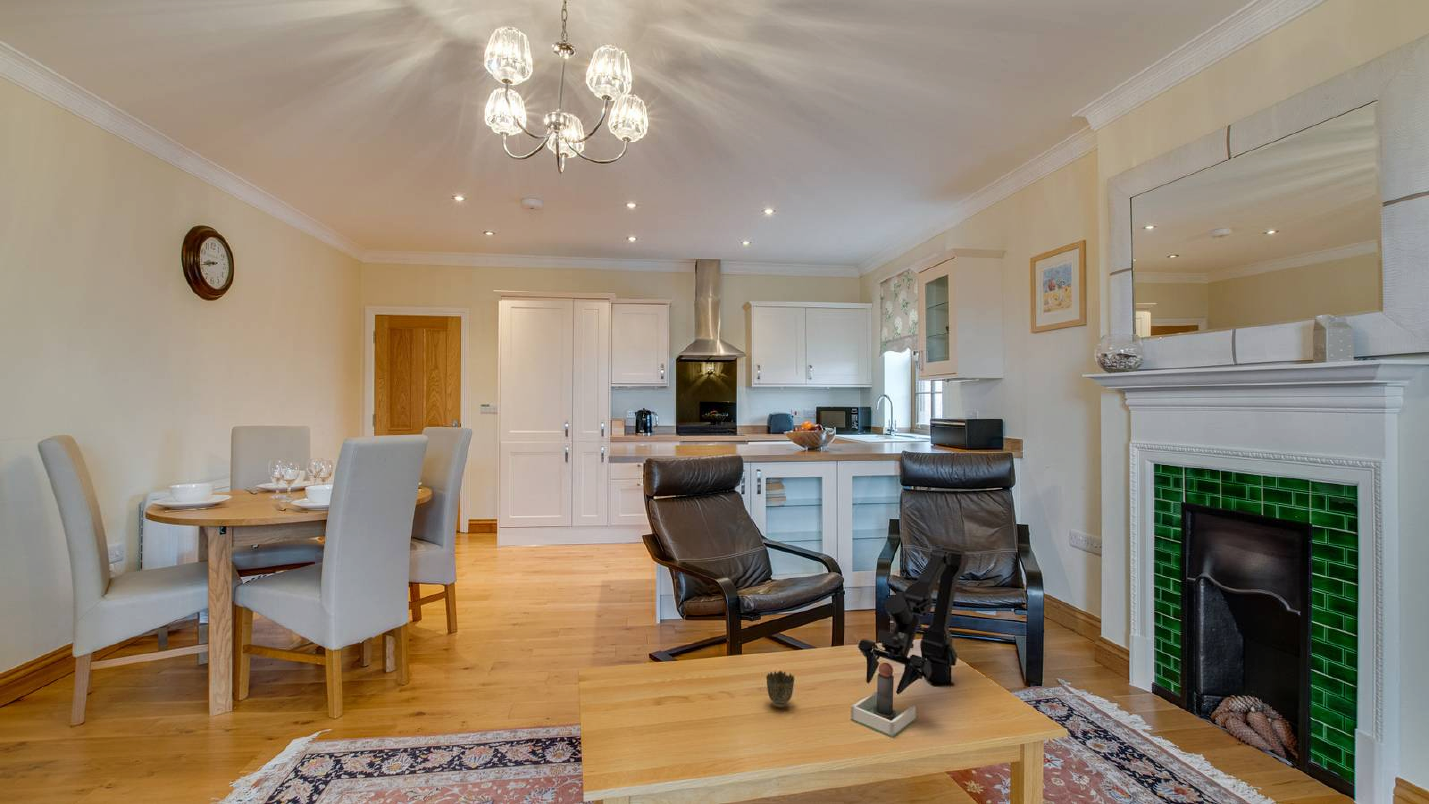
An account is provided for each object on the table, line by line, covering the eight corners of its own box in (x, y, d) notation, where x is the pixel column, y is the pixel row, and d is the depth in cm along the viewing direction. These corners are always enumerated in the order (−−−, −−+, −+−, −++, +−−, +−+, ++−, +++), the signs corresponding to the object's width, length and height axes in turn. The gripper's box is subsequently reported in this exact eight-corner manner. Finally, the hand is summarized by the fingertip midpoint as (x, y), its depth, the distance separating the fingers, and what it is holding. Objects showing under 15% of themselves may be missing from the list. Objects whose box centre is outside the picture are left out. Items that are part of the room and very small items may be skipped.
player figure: (884, 710, 164) (886, 657, 165) (900, 719, 160) (901, 665, 160) (868, 714, 162) (870, 661, 162) (884, 724, 157) (886, 668, 157)
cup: (799, 706, 167) (799, 676, 167) (782, 716, 161) (783, 685, 161) (777, 697, 172) (777, 668, 172) (760, 706, 166) (760, 676, 166)
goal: (874, 704, 169) (875, 691, 169) (915, 720, 161) (915, 706, 161) (850, 720, 160) (851, 706, 160) (892, 737, 152) (892, 723, 152)
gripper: (862, 609, 170) (838, 661, 162) (927, 627, 157) (905, 684, 149) (876, 630, 176) (854, 682, 168) (940, 649, 163) (920, 706, 155)
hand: (882, 688), depth 160 cm, fingers open, 8 cm apart
